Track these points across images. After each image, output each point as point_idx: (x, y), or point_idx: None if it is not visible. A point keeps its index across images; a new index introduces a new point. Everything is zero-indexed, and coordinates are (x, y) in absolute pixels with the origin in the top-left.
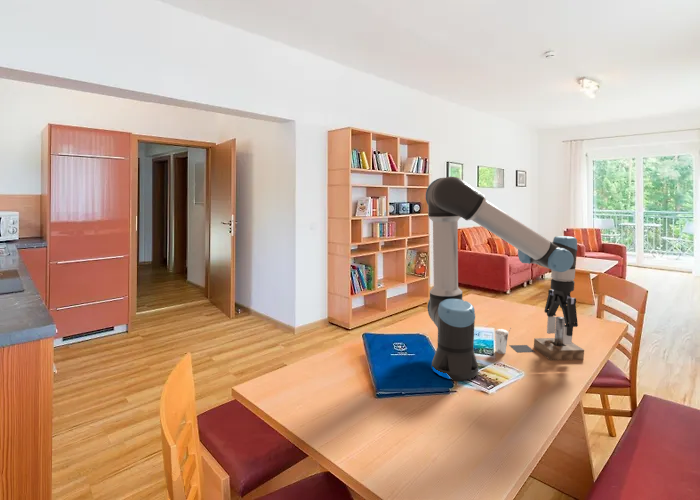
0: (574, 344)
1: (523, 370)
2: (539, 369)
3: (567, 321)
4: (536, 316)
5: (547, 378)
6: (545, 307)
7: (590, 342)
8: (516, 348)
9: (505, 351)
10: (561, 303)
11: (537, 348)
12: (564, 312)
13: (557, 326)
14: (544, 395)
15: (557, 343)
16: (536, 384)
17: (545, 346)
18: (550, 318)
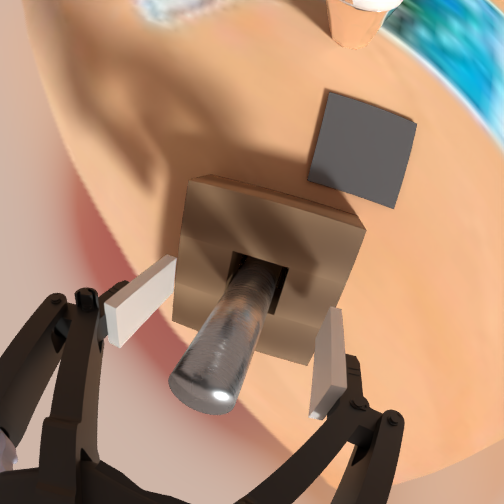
0: None
1: (174, 30)
2: (163, 85)
3: (72, 326)
4: (497, 415)
5: (111, 79)
6: (397, 447)
7: (308, 420)
8: (373, 124)
9: (335, 37)
10: (42, 450)
11: (323, 207)
12: (60, 379)
13: (214, 326)
14: (67, 39)
15: (241, 273)
16: (99, 36)
17: (241, 193)
18: (325, 384)
